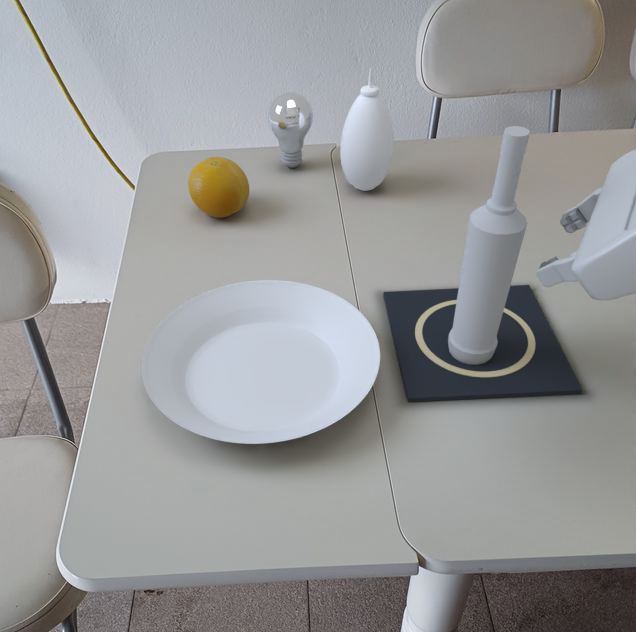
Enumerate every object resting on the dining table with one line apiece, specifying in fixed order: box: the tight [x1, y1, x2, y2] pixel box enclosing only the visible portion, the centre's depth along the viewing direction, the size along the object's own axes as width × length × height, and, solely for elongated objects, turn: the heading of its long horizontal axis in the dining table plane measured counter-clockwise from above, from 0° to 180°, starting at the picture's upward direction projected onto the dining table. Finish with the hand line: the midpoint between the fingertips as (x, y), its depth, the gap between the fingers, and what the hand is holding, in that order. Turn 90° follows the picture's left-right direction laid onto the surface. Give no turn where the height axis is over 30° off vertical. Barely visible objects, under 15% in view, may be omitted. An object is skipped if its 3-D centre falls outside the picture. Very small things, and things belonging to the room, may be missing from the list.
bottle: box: [448, 125, 531, 365], centre depth 63 cm, size 5×5×25 cm
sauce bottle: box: [339, 67, 395, 192], centre depth 94 cm, size 8×8×18 cm
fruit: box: [187, 156, 250, 219], centre depth 94 cm, size 9×8×8 cm
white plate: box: [140, 279, 381, 445], centre depth 69 cm, size 25×25×4 cm
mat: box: [382, 284, 584, 403], centre depth 73 cm, size 18×18×1 cm
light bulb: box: [267, 91, 314, 169], centre depth 102 cm, size 7×7×12 cm
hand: (553, 249), depth 59 cm, fingers open, 8 cm apart
